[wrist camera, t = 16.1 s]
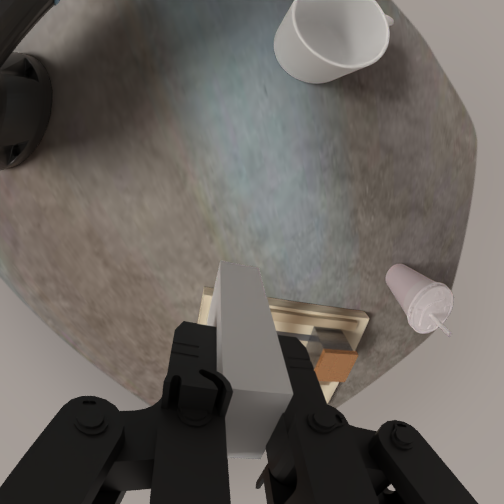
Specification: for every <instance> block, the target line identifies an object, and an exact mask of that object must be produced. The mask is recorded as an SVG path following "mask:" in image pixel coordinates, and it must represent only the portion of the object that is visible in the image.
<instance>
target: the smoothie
mask: <svg viewBox="0 0 504 504" xmlns="http://www.w3.org/2000/svg"><path fill="white" fill-rule="evenodd" d="M385 280H386V284H387V285H388V287H389V288H390V290H391V291H392V293H393V295H394V296H395V298H396V299H397V301H398V302H399V304H400V306H401V307H402V309H403V310H404V312H405V314H406V315H407V319H408V323H409V325H410V326H411V327H412V328H413V329H414V330H415V331H416V332H418V333H423V334H424V333H429V332H432V331H434V330H436V329H437V328H439V327H440V328H441V330H442V331H443V332H444V333H445V334H446V335H447V336H448V337H450V336H451V335H452V333H451V332H450V331H449V330H448V328H447V327H445V326H444V324H443V323H444V322H445V321H446V320H447V318H448V317H449V315H450V313H451V310H452V308H453V303H454V297H453V293H452V291H451V290H450V289H449V288H448V287H447V286H446V285H445V284H443V283H441V282H435V281H433V280H431V279H429V278H428V277H426V276H424V275H422V274H420V273H419V272H417V271H415V270H413V269H411V268H409V267H408V266H406V265H404V264H401V263H398V264H395V265H393V266H392V267H391V268H390V269H389V270H388V272H387V274H386V278H385Z"/></svg>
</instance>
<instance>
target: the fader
mask: <svg viewBox="0 0 504 504" xmlns="http://www.w3.org/2000/svg"><path fill="white" fill-rule="evenodd" d="M306 349H307V351H308V354H309V357H310V361H311V362H312V365H313V367H314V371H315V373H316V375H317V378H318V381H328V382H345V381H346V379H347V377H348V375H349V373H350V371H351V369H352V367H353V365H354V363H355V361H356V359H357V357H358V353H357V352H356V351H353V349H352V347H351V346H350V344H349V342H348V340H347V338H346V337H345V335H344V333H343V331H342V329H333V328H324V327H315V326H314V327H313V330H312V333H311V335H310V338H309V340H308V343H307V345H306Z"/></svg>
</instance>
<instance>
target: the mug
mask: <svg viewBox="0 0 504 504" xmlns="http://www.w3.org/2000/svg"><path fill="white" fill-rule="evenodd" d="M393 23H394V20H393V19H392V18H391V17H390V16H388V15H385V14H384V12H383V10H382V9H381V7H380V6H379V5H378V3H377V2H376V1H375V0H294V1H293V3H292V5H291V7H290V8H289V10H288V12H287V13H286V15H285V17H284V19H283V20H282V22H281V24H280V26H279V27H278V29H277V32H276V34H275V37H274V52H275V56H276V59H277V61H278V62H279V64H280V65H281V67H282V68H283V69H284V70H285V71H286V72H287V73H288V74H289V75H291V76H292V77H294V78H296V79H298V80H300V81H303V82H306V83H314V84H319V83H326V82H329V81H332V80H335V79H337V78H340V77H342V76H344V75H347V74H349V73H352V72H354V71H357V70H359V69H362V68H364V67H367V66H369V65H371V64H373V63H375V62H376V61H378V60H379V59H380V58H381V57H382V55H383V54H384V53H385V51H386V49H387V46H388V43H389V37H390V31H389V26H391V25H393Z"/></svg>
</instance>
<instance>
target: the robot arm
mask: <svg viewBox="0 0 504 504" xmlns="http://www.w3.org/2000/svg"><path fill="white" fill-rule="evenodd" d="M59 1H60V0H0V170H3V169H7V168H11V167H14V166H16V165H18V164H20V163H21V162H23V161H24V160H25V159H26V158H27V157H29V156H30V154H31V153H32V152H33V151H34V150H35V148H36V147H37V145H38V144H39V142H40V140H41V139H42V137H43V135H44V132H45V130H46V127H47V124H48V121H49V117H50V112H51V105H52V89H51V83H50V79H49V76H48V73H47V71H46V69H45V68H44V66H43V65H42V64H41V63H40V62H39V61H38V60H37V59H35V58H34V57H32V56H29V55H25V54H22V53H17V52H13V51H14V49H15V48H16V47H17V45H18V44H19V43H20V42H21V40H22V39H23V38H24V37H25V36H26V35H27V33H28V32H29V31H30V30H31V29H32V28H33V27H34V26H35V24H36V23H37V22H38V21H39V20H40V19H41V18H42V17H43V16H44V15H45V14H46V13H47V12H48V11H49V10H50V9H51V8H52V7H53V6H56V5H57V4H58V3H59ZM265 449H266V452H267V458H268V464H267V465H266V467H265V469H264V470H263V472H262V474H261V475H260V477H259V479H258V480H257V482H256V488H257V489H259V488H260V487H261V486H262V484H263V483H264V486H265V493H266V499H267V504H478V503H477V502H476V501H475V499H474V498H473V497H472V496H471V494H470V493H469V492H468V491H467V489H465V487H464V486H463V485H462V483H461V482H460V481H459V480H458V479H457V477H456V476H455V475H454V474H453V473H452V472H451V470H450V469H449V468H448V467H447V466H446V465H445V463H444V462H443V461H442V459H441V458H440V457H439V456H438V455H437V454H436V452H435V451H434V450H433V449H432V447H431V446H430V445H429V444H428V443H427V442H426V440H425V439H424V438H423V437H422V436H421V434H420V433H419V432H418V431H417V430H416V429H415V428H414V427H412V426H411V425H409V424H407V423H405V422H402V421H397V420H393V421H387V422H386V423H384V424H383V425H381V427H380V428H379V429H378V431H372V430H367V429H362V428H358V427H354V426H351V425H349V424H348V422H347V420H346V418H345V417H344V415H343V414H342V413H341V412H339V411H338V410H337V409H336V408H334V407H332V406H330V405H327V402H326V400H325V397H324V394H323V391H322V389H321V386H320V383H319V381H318V378H317V375H316V373H315V371H314V367H313V365H312V362H311V361H310V357H309V354H308V351H307V349H306V347H305V346H304V345H303V344H302V343H301V342H300V341H299V339H298V338H297V337H291V336H283V335H277V332H276V329H275V325H274V321H273V318H272V314H271V310H270V307H269V303H268V299H267V296H266V292H265V288H264V285H263V281H262V277H261V274H260V270H259V268H258V267H253V266H247V265H242V264H237V263H232V262H226V261H221V260H220V264H219V269H218V273H217V278H216V282H215V287H214V291H213V296H212V300H211V305H210V310H209V314H208V319H207V325H202V324H197V323H191V322H186V321H183V322H182V323H181V324H180V325H179V326H178V327H177V328H176V329H175V333H174V338H173V344H172V349H171V355H170V361H169V367H168V373H167V376H166V378H165V380H164V384H163V394H162V398H161V399H160V400H159V401H158V402H157V403H156V404H154V405H153V406H151V407H148V408H146V409H142V410H135V411H119V410H118V409H117V407H116V406H115V405H113V404H112V403H110V402H109V401H107V400H105V399H102V398H99V397H95V396H81V397H78V398H75V399H71V400H70V401H69V402H68V403H66V404H65V405H64V406H63V407H62V408H61V409H60V411H59V412H58V413H57V414H56V416H55V417H54V418H53V419H52V421H51V422H50V423H49V424H48V426H47V427H46V428H45V429H44V431H43V432H42V433H41V434H40V436H39V437H38V438H37V439H36V441H35V442H34V443H33V445H32V446H31V447H30V448H29V450H28V451H27V452H26V454H25V455H24V456H23V458H22V459H21V460H20V461H19V463H18V464H17V465H16V467H15V468H14V469H13V471H12V472H11V474H10V475H9V476H8V477H7V479H6V480H5V482H4V483H3V484H2V486H1V487H0V504H120V503H121V501H122V499H123V497H124V495H125V493H126V491H130V490H141V489H151V496H150V504H231V501H230V489H229V474H228V459H227V457H230V458H246V459H261V457H262V455H263V453H264V451H265ZM390 484H392V485H393V487H394V488H395V491H391V490H389V489H388V488H387V487H388V486H389V485H390Z"/></svg>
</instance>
